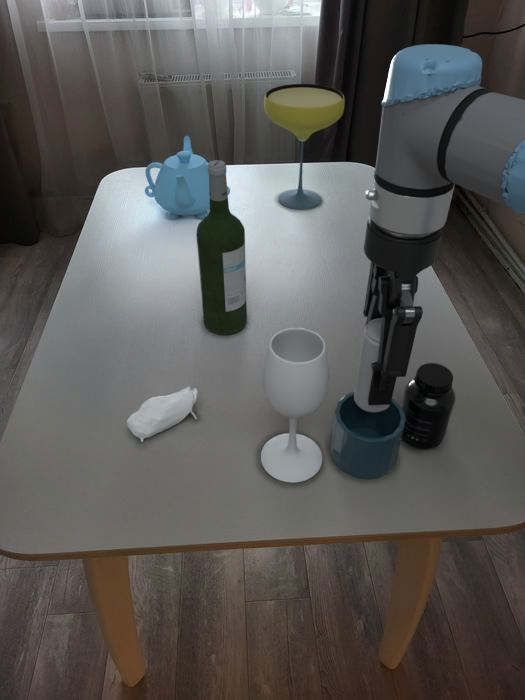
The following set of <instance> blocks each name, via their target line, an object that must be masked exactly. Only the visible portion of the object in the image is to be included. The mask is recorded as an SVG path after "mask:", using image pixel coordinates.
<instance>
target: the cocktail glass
mask: <svg viewBox="0 0 525 700" xmlns="http://www.w3.org/2000/svg"><path fill="white" fill-rule="evenodd" d="M345 103H346V99H345V96H344V94H343V92H341V91H340V90H338V89H336V88H333V87H331V86H327V85H322V84H315V83H291V84H284V85H283V84H282V85H278V86H276V87H275V86H274V87H272V88H270V89H269V90H267V91H266V93H265V94H264V99H263V109H264V114H265V115H266V117H267V118H268V119H269V120H270V121H271V122H272V123H273V124H274V125H277V126H278V127H280V128H282V129H285V130H287V131H289V132H291V133H292V134H294V136H295V137H296V139H297V140H298V141H300V154H299V155H300V158H299V173H298V174H299V175H298V186H297V189H290V190H286V191H283V192H281V193H280V194H279V195H278V197H277V200H278V202H279V203H280V205H282V206H283V207H285V208H287V209H291V210H310V209H313V208H316V207H317V206H319V205H320V204H321V202H322V197H321V196H320V194H318V193H317V192H315V191H312V190H310V189H309V190H308V189H303V166H304V164H303V163H304V144H305V142H306V141H307V140H308V139H309V138H310V136H311V135H313V134H314V133H316V132H318V131H321V130H325V129H326V128H328V127H330V126H332V125H334V124H335V123H336V122H338V121H339V120H340V119H341V117H342V116H343V114H344V112H345Z"/></svg>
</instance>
